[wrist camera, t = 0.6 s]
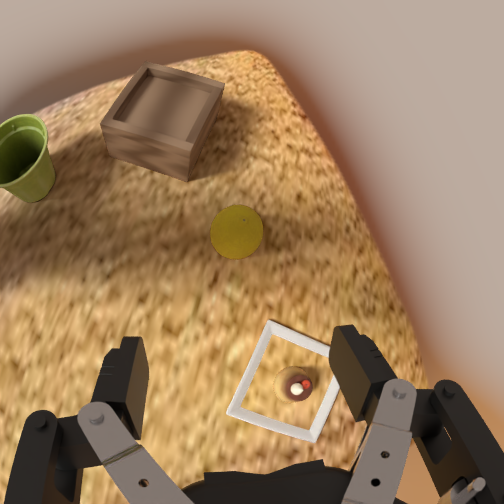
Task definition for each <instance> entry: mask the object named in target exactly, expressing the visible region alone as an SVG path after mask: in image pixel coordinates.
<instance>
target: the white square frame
mask: <svg viewBox="0 0 504 504" xmlns="http://www.w3.org/2000/svg"><path fill="white" fill-rule="evenodd" d="M272 334H274V335H276V336H279V337H281V338H283V339H285V340H288V341H290V342H292V343H295V344H297V345H299V346H302V347H304V348H306V349H309V350H311V351H314V352H316V353H318V354H321V355H323V356H326V357H328V358H329V350H330V346H327V345H325V344H323V343H320V342H318V341H316V340H314V339H311V338H309V337H307V336H304V335H302V334H300V333H298V332H295V331H293V330H291V329H289V328H287V327H284V326H282V325H280V324H278V323H276V322H273V321H271V320H267V323H266V325H265V327H264V330H263V332H262V334H261V336H260V339H259V341H258V343H257V346H256V348H255V350H254V352H253V355H252V357H251V359H250V361H249V363H248V366H247V368H246V370H245V372H244V375H243V377H242V379H241V381H240V383H239V386H238V388H237V390H236V392H235V394H234V396H233V399H232V401H231V403H230V405H229V407H228V409H227V411H226V414H227V415H229V416H232V417H235V418H237V419H240V420H243V421H246V422H248V423H251V424H254V425H257V426H260V427H263V428H266V429H269V430H272V431H275V432H278V433H281V434H285V435H288V436H291V437H295V438H298V439H301V440H305V441H309V442H312V443H316V441H317V439H318V437H319V435H320V432H321V430H322V428H323V426H324V424H325V421H326V419H327V417H328V415H329V412H330V410H331V408H332V405H333V403H334V401H335V398H336V396H337V394H338V391H339V389H340V387H339V384H338V382H337V380H336V378H335V376H333V378H332V380H331V383H330V385H329V388H328V390H327V392H326V395H325V397H324V399H323V402H322V404H321V406H320V408H319V411H318V413H317V415H316V417H315V419H314V422H313V424H312V426H311V428H310V430H305V429H302V428H299V427H295V426H292V425H289V424H286V423H283V422H280V421H277V420H274V419H271V418H269V417H266V416H263V415H260V414H257V413H255V412H252V411H249V410H247V409H244V408H241V407H240V406H241V403H242V401H243V399H244V397H245V395H246V392H247V390H248V388H249V386H250V383H251V381H252V379H253V377H254V375H255V372H256V370H257V368H258V365H259V363H260V361H261V359H262V356H263V354H264V352H265V349H266V347H267V345H268V342H269V340H270V338H271V335H272ZM273 389H274V393H275V395H276V396H277V398H278V399H280V400H281V401H283V402H286V403H294V402H298V401H303V400H305V399H306V398H308V397H309V396H310V394H311V392H312V382H311V380H310V379H309V377H308V376H307V374H306V372H305V371H304V370H302V369H301V368H298V367H293V366H292V367H287V368H284V369H283V370H281V371H280V372H279V373H278V374H277V375H276V377H275V379H274V383H273Z"/></svg>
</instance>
